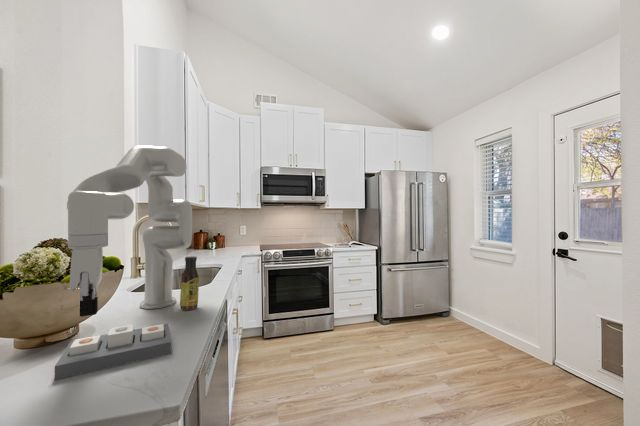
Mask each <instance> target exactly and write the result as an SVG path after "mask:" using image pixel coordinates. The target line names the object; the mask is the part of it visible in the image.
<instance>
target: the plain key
mask: <svg viewBox="0 0 640 426" xmlns="http://www.w3.org/2000/svg"><path fill="white" fill-rule="evenodd" d="M134 326H135V325H134V324H128V325H123V326H115V327H110V329H109V332H108V333H107V334H108V348H112V347H117V346H122V345H127V344H132V343H133V335H134V328H135V327H134Z"/></svg>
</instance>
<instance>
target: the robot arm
mask: <svg viewBox="0 0 640 426" xmlns="http://www.w3.org/2000/svg"><path fill="white" fill-rule="evenodd" d="M186 172H187V162H186V160H185V158H184V157H183V155H181V154H180V153H179V152H177V151H175V150H174V149H172V148H170V147H167V146H156V145H136V146H132V147H131V148H130V149H129V150H128V151H127V152H126V153H125V155H124V156H123V157H122V158H121V159H120V161H118V163H117V164H116V165H115V167H112V168H108V169H107V170H103V171H101V172H98V173H96V174H94V175H92V176H89V177H88V178H85V179H84V180H83V181H82V182H79V184H78V185H77V187H76V188H74V189H73V191H71V192H70V193H69V194H68V196H67V201H66V209H67V234H68V235H67V249H69V250H72V252H71V259H70V271H69V274H70V275H69V289H70V290H71V291H74V290H75V289H77V288H78V287H79V289H80V306H79V317H81V318H82V317H87V316H95V315H97V313H98V310H99V308H98V307H99V306H98V305H99V304H98V303H99V300H98V299H99V298H98V287H99V285H100V283H102V282H101V281H102V279H103V266H104V265H103V259H104V258H103V257H104V256H103V253H104V252H103V248H105V247H108V246H109V220H124V219H127V218H128V217H129V216H131V215H132V213H133V211H134V210H135V209H134V208H135V204H134V201H133V198H131V197H130V196H129V195H128V194H126V193H123V192H126V191H130V190H133V189H137V188H140V187H141V186H142V185H143V184H144V182H146V186H147V188H148V189H147V190H148V193H147V194H148V198H147V200H148V202H147V210H148V212H147V214H148V218H149V220H150V221H152V222H153V223H154V222H155V223H177V225H151V226H149V227H146V229H145V230H144V231H143V233H142V240H143V241H142V242H143V247H144V255H145V260H144V261H145V263H144V264H145V265H144V266H145V267H144V300H142V301H141V302H140V303H139V307H140V308H142V309H145V310H150V309H151V310H154V309H161V308H166V307H169V306H172V305H174V304H176V302H177V298H176V297H173V270H174V269H173V266H174V265H173V264H174V263H173V262H174V260H173V257H172V255H171V254H170V252H169V251H168V250H184V249H188V248H190V246H191V245H192V240H193V207H192V205H191V204H192V203H190V201H189V200H186V199H183V198H182V199H181V198H180V199H178V198H175V199H174V196H173V192H174V188H173V185H172V183H171V182H170V181H169V180H168V179H167V177H175V178H176V177H182V176H184V175H185V174H186Z"/></svg>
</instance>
